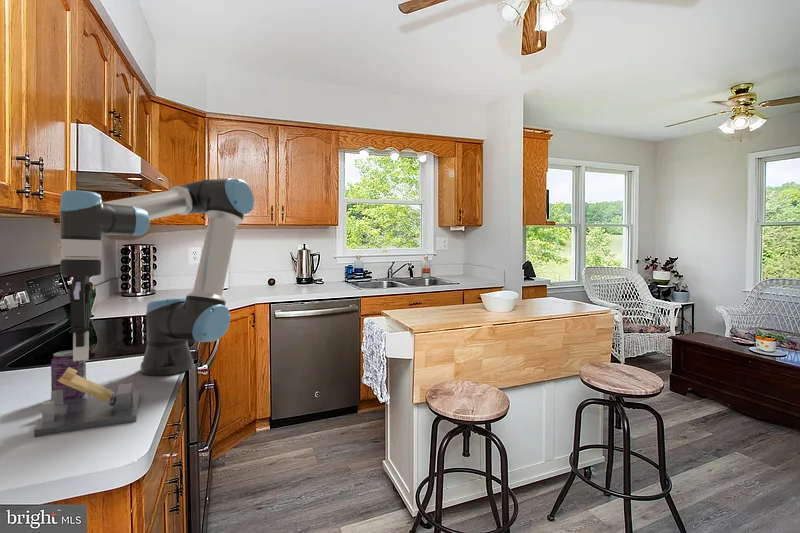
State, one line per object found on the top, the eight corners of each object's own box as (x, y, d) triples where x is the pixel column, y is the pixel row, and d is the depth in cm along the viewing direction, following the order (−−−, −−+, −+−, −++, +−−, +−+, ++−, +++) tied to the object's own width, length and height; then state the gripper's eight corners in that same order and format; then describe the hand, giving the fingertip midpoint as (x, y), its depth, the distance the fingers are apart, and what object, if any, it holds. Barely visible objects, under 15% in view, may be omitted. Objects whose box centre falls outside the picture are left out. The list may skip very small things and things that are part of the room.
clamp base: (54, 407, 103) (53, 385, 103) (140, 396, 112) (140, 376, 112) (34, 437, 87) (33, 411, 87) (136, 421, 96) (136, 397, 96)
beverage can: (81, 391, 115) (81, 348, 114) (89, 397, 110) (89, 352, 110) (48, 398, 109) (47, 352, 109) (55, 405, 105) (54, 357, 104)
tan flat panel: (63, 373, 99) (70, 365, 100) (116, 397, 105) (122, 388, 105) (56, 382, 93) (64, 373, 94) (113, 406, 99) (119, 397, 99)
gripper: (66, 257, 101) (66, 355, 102) (54, 258, 90) (53, 368, 90) (104, 258, 105) (104, 352, 105) (97, 259, 93) (96, 364, 94)
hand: (80, 359), depth 98 cm, fingers closed
